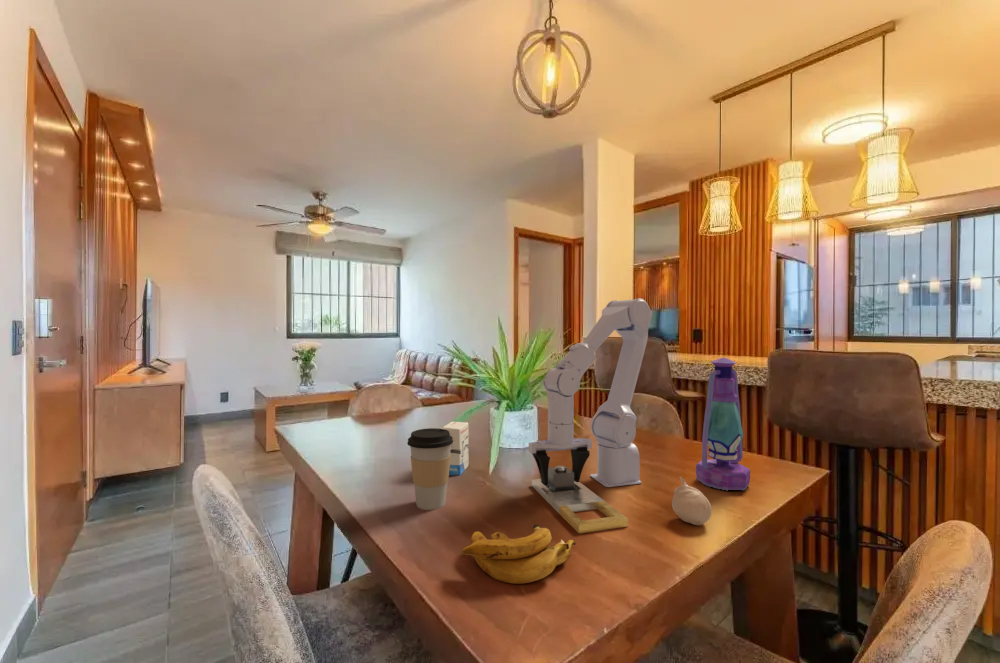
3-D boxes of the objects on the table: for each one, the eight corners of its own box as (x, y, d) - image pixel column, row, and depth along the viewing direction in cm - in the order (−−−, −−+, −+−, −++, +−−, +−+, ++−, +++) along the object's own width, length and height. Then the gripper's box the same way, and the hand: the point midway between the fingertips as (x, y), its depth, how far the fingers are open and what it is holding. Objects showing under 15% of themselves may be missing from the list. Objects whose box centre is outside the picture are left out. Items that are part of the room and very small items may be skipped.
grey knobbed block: (565, 487, 99) (565, 463, 99) (574, 494, 95) (574, 469, 95) (547, 489, 98) (547, 465, 98) (555, 497, 94) (555, 471, 94)
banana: (597, 573, 65) (597, 536, 65) (478, 603, 58) (478, 561, 58) (548, 529, 79) (548, 498, 79) (448, 549, 72) (448, 515, 72)
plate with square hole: (571, 481, 103) (571, 475, 103) (627, 526, 80) (627, 518, 80) (531, 486, 100) (531, 479, 100) (578, 533, 77) (578, 525, 77)
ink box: (460, 476, 106) (460, 429, 106) (441, 475, 107) (441, 428, 107) (469, 465, 115) (469, 421, 115) (451, 464, 116) (451, 420, 116)
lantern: (719, 472, 110) (719, 355, 110) (764, 487, 100) (765, 358, 99) (682, 480, 104) (683, 356, 104) (726, 497, 94) (727, 360, 93)
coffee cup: (460, 499, 92) (460, 429, 92) (440, 517, 83) (440, 440, 83) (421, 493, 95) (421, 425, 95) (398, 510, 87) (398, 436, 86)
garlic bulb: (705, 517, 84) (705, 476, 84) (714, 532, 78) (715, 488, 78) (669, 513, 85) (670, 473, 85) (676, 528, 79) (676, 485, 79)
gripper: (581, 416, 102) (581, 473, 102) (524, 420, 98) (523, 479, 98) (596, 423, 96) (596, 483, 96) (535, 426, 92) (534, 490, 92)
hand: (560, 482), depth 97 cm, fingers open, 7 cm apart
